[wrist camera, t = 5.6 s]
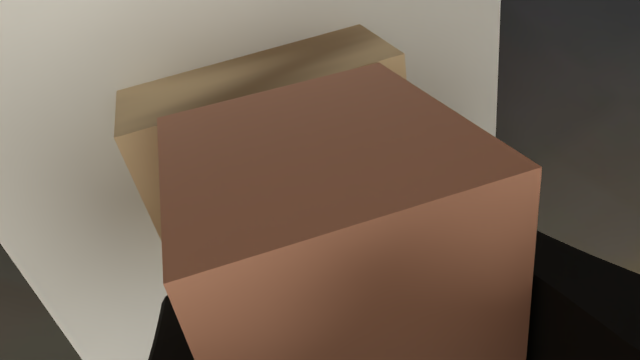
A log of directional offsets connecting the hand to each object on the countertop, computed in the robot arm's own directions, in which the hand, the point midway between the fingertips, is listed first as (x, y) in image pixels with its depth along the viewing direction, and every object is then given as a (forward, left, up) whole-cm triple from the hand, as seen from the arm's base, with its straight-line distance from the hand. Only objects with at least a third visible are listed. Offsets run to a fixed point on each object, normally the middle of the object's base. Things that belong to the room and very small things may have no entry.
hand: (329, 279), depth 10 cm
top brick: (0, -1, -2) cm, 2 cm away
